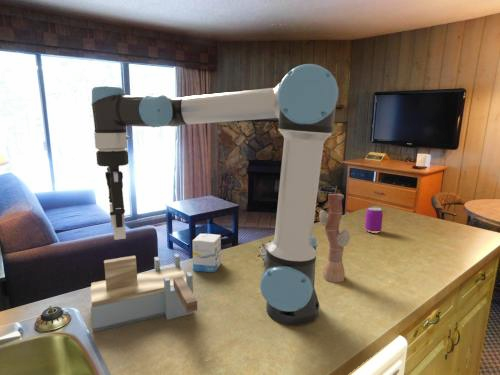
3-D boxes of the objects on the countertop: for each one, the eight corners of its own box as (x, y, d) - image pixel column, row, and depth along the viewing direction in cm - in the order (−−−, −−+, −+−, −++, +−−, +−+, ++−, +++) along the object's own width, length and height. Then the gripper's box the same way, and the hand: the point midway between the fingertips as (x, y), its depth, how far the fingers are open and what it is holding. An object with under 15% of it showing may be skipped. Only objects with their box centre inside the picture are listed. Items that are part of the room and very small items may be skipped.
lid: (190, 288, 94) (189, 255, 92) (92, 309, 83) (88, 272, 81) (180, 272, 104) (179, 242, 102) (91, 289, 93) (88, 256, 91)
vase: (350, 279, 114) (356, 194, 108) (336, 285, 109) (342, 197, 104) (326, 268, 122) (330, 189, 116) (312, 273, 118) (316, 192, 112)
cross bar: (197, 310, 79) (197, 300, 79) (187, 312, 78) (186, 303, 78) (182, 284, 92) (182, 276, 91) (173, 286, 90) (173, 278, 90)
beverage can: (382, 231, 165) (384, 208, 163) (379, 235, 159) (381, 211, 156) (366, 228, 169) (368, 205, 167) (363, 232, 163) (365, 209, 160)
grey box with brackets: (194, 313, 93) (193, 275, 91) (93, 338, 82) (89, 295, 80) (179, 286, 108) (178, 253, 106) (92, 304, 97) (89, 268, 94)
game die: (267, 268, 130) (269, 244, 134) (284, 267, 124) (285, 241, 129) (251, 263, 124) (254, 238, 129) (269, 261, 119) (271, 235, 123)
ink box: (214, 272, 118) (214, 242, 116) (192, 270, 119) (191, 240, 117) (221, 263, 126) (221, 234, 124) (200, 261, 128) (199, 232, 125)
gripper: (133, 153, 75) (138, 244, 79) (123, 146, 96) (128, 218, 100) (97, 154, 72) (104, 249, 76) (95, 146, 92) (101, 221, 97)
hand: (118, 231), depth 88 cm, fingers open, 11 cm apart
